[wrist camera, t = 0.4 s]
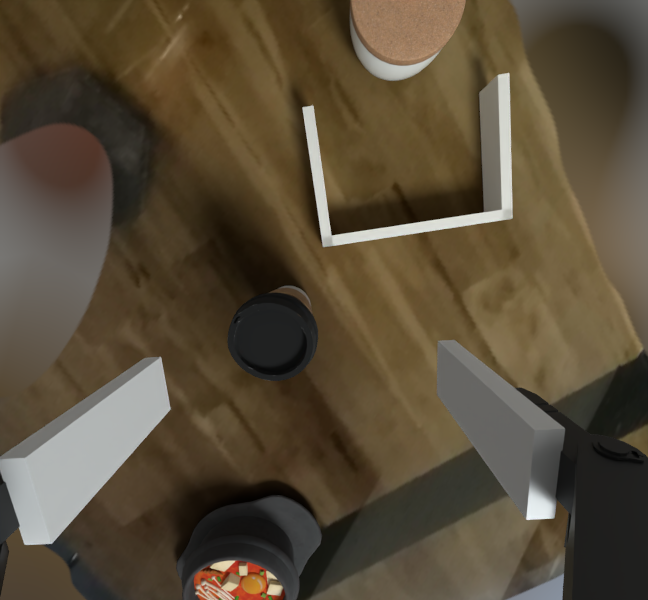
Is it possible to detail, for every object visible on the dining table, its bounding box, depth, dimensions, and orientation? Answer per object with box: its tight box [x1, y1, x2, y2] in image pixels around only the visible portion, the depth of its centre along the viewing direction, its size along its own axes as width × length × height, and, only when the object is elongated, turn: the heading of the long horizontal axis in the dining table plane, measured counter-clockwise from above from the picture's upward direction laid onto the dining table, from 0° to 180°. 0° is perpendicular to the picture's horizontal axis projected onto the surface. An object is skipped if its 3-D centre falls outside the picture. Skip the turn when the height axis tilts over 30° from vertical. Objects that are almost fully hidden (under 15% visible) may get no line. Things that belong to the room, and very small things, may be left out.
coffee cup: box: [228, 286, 318, 381], centre depth 34 cm, size 8×8×15 cm
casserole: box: [176, 495, 322, 600], centre depth 45 cm, size 25×19×8 cm
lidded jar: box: [350, 0, 466, 81], centre depth 31 cm, size 11×11×9 cm
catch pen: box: [302, 73, 513, 247], centre depth 36 cm, size 15×22×4 cm
